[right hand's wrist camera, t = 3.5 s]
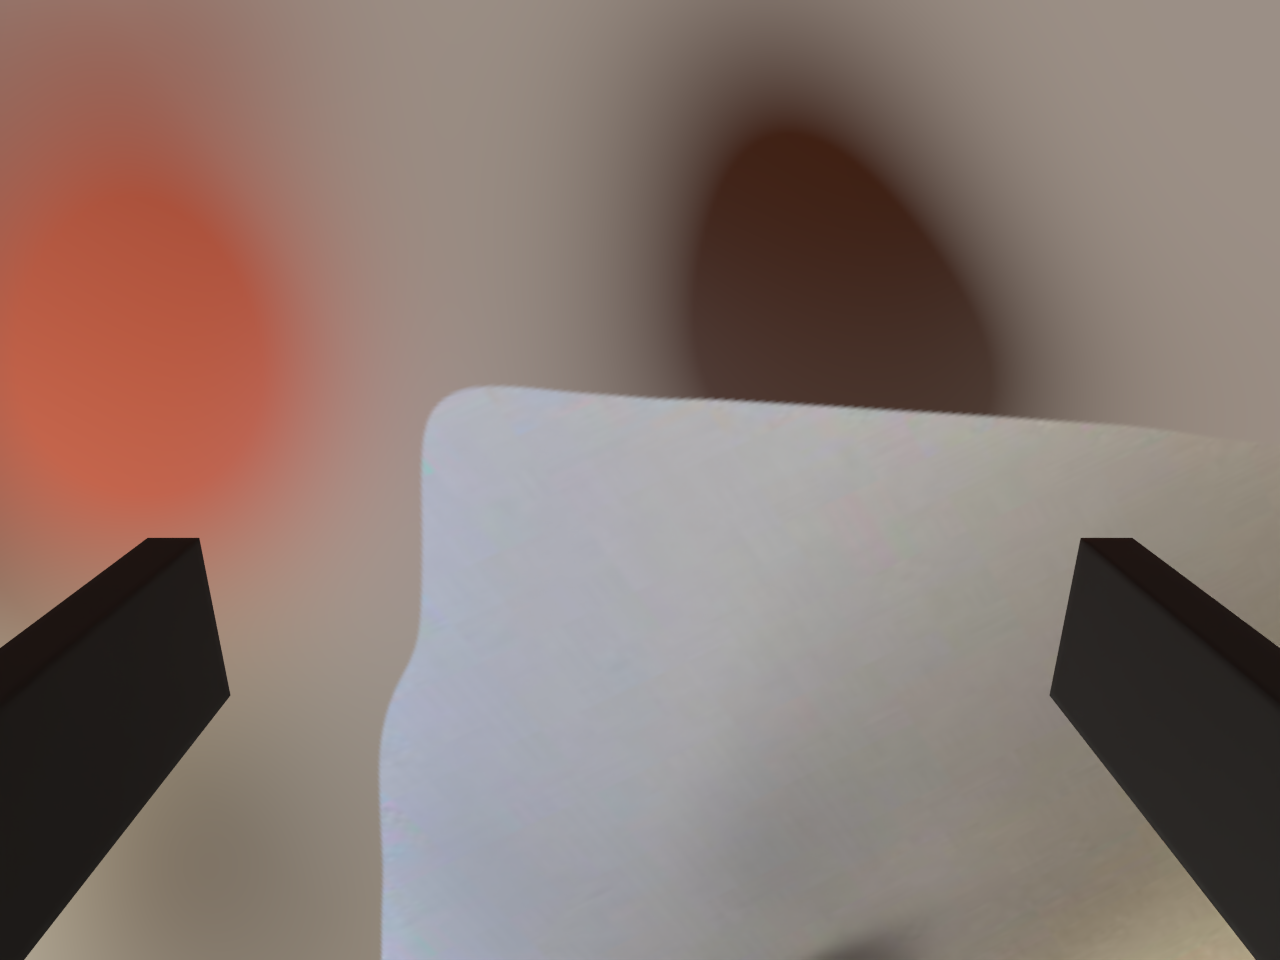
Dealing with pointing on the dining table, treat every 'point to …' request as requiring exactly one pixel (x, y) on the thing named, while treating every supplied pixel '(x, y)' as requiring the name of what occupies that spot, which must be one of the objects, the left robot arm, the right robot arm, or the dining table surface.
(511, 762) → the dining table surface
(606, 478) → the dining table surface
